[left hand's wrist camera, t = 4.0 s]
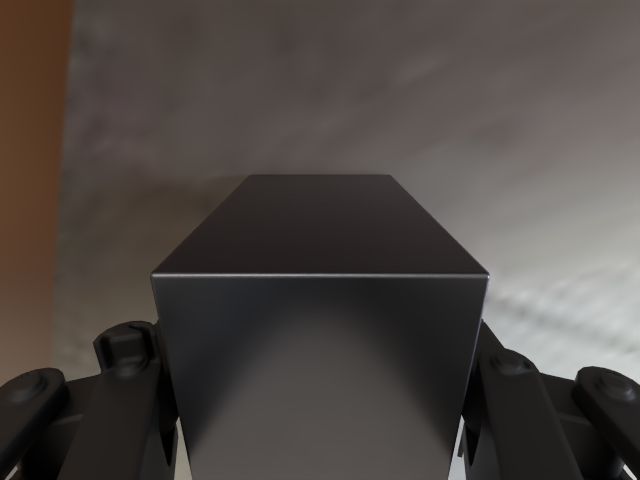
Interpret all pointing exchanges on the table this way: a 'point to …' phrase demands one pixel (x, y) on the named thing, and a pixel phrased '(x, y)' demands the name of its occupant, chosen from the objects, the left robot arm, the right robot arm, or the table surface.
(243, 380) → the box
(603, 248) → the table surface
